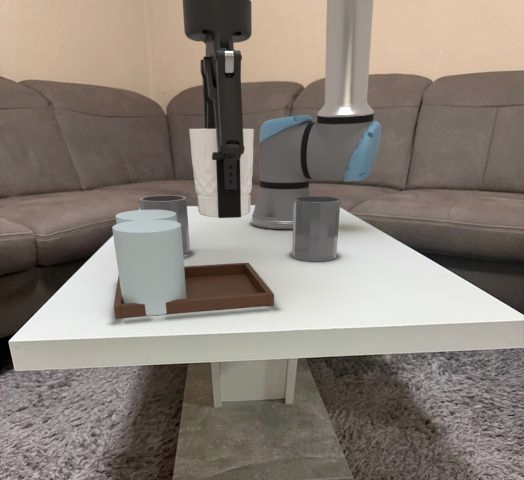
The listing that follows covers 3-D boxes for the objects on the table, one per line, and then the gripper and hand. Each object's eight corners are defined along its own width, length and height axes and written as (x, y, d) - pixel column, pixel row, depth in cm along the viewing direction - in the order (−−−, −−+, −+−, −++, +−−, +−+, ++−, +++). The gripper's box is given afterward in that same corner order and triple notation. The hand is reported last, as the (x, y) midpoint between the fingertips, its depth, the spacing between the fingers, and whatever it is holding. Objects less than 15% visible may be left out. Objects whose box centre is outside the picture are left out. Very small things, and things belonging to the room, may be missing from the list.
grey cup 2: (326, 249, 88) (330, 195, 83) (343, 260, 81) (347, 201, 76) (287, 251, 86) (288, 196, 82) (300, 262, 79) (302, 203, 75)
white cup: (246, 220, 56) (245, 128, 51) (185, 217, 57) (179, 128, 53) (260, 209, 62) (259, 128, 58) (205, 207, 64) (201, 128, 60)
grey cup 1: (187, 248, 88) (184, 194, 84) (192, 258, 81) (188, 200, 77) (145, 250, 87) (139, 195, 82) (146, 261, 80) (139, 202, 75)
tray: (248, 275, 72) (248, 262, 71) (274, 309, 59) (274, 293, 58) (121, 284, 68) (119, 270, 67) (116, 323, 55) (113, 306, 54)
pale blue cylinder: (184, 292, 63) (178, 218, 59) (189, 312, 56) (183, 230, 52) (124, 296, 61) (113, 220, 57) (122, 318, 54) (110, 233, 50)
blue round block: (179, 275, 70) (174, 208, 66) (184, 292, 63) (178, 218, 59) (126, 279, 68) (116, 210, 64) (124, 296, 61) (113, 220, 57)
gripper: (175, 14, 58) (188, 201, 68) (191, -37, 40) (205, 228, 50) (234, 17, 59) (237, 200, 69) (274, -31, 41) (271, 225, 51)
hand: (224, 211), depth 60 cm, fingers closed on white cup, 8 cm apart
